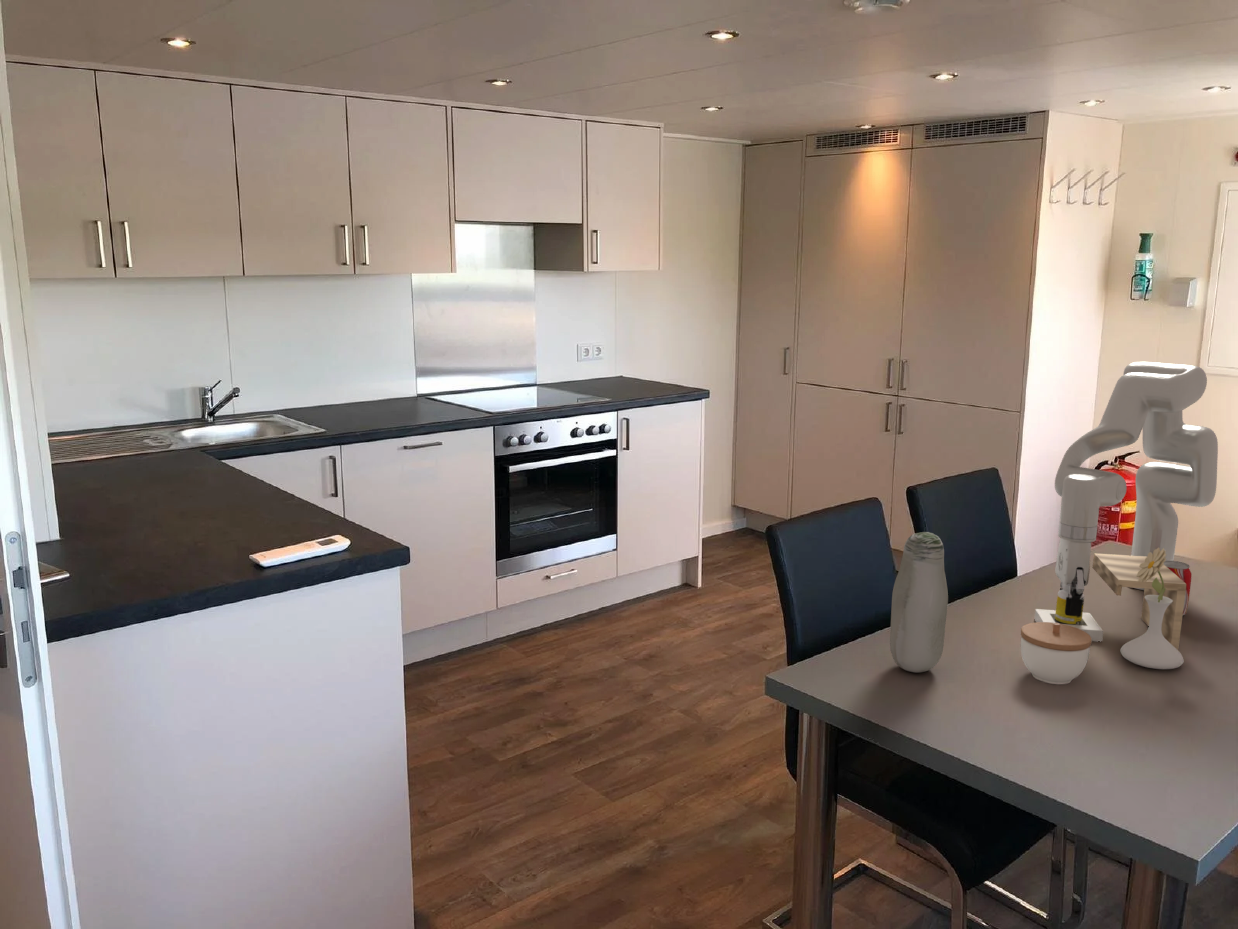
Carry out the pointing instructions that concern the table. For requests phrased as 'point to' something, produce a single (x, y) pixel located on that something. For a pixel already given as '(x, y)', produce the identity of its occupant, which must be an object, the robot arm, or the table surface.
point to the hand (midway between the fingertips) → (1069, 609)
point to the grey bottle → (919, 604)
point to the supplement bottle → (1060, 608)
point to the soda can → (1181, 577)
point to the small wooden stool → (1123, 574)
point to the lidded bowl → (1054, 651)
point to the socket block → (1086, 625)
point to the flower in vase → (1153, 623)
